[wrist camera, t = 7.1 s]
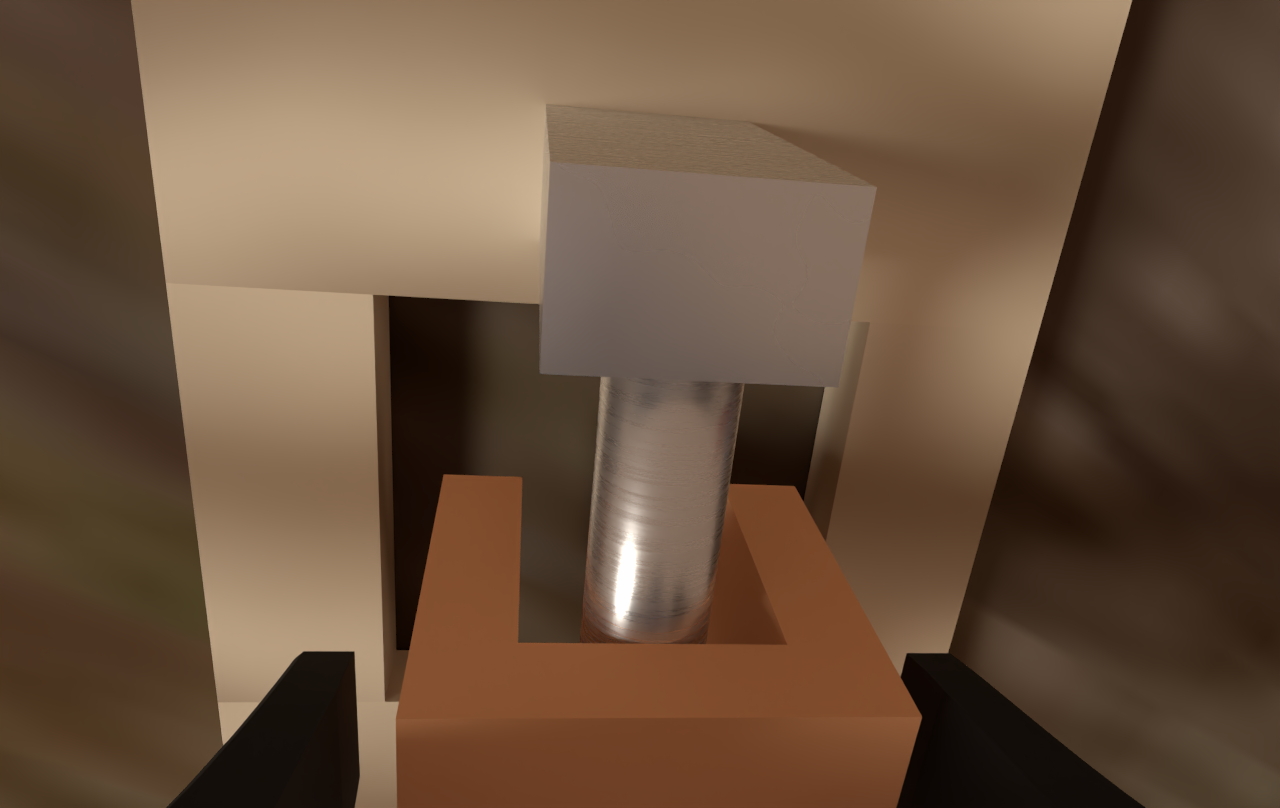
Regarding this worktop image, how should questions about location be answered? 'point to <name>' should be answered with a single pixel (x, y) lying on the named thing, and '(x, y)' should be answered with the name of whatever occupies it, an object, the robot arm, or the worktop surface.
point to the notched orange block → (649, 680)
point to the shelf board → (509, 265)
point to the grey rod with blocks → (683, 329)
